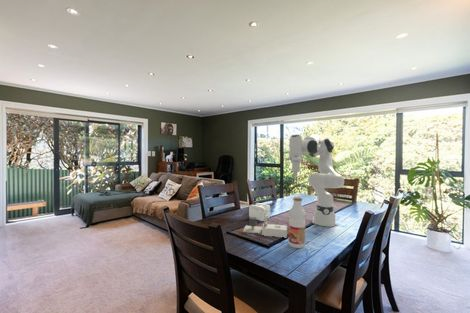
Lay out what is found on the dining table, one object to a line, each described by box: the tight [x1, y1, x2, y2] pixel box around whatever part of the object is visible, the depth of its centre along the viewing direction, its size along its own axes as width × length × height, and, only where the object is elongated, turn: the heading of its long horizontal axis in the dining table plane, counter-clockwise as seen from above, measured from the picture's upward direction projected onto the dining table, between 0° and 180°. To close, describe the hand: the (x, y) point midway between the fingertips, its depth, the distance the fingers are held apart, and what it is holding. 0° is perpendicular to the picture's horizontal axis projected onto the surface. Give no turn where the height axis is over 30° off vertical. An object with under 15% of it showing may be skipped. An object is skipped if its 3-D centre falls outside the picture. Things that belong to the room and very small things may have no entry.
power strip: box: [261, 223, 288, 239], centre depth 149 cm, size 9×16×6 cm, turn 78°
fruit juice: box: [287, 196, 306, 249], centre depth 131 cm, size 9×9×28 cm
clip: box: [263, 211, 268, 226], centre depth 154 cm, size 2×11×7 cm, turn 170°
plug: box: [248, 217, 262, 230], centre depth 155 cm, size 5×8×8 cm, turn 78°
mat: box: [242, 224, 262, 235], centre depth 156 cm, size 12×12×1 cm
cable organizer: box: [248, 202, 271, 222], centre depth 182 cm, size 15×11×12 cm
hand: (295, 177), depth 155 cm, fingers open, 8 cm apart
